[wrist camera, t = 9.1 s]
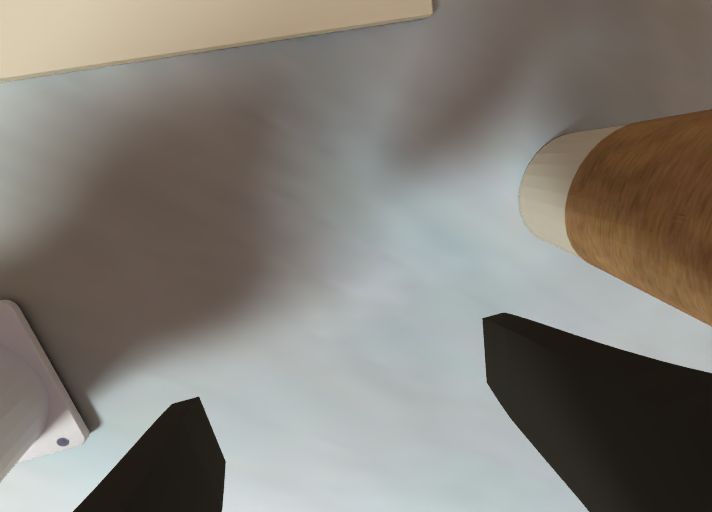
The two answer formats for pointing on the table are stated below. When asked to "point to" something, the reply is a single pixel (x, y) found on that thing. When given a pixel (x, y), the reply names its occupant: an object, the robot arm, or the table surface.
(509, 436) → the table surface
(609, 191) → the coffee cup
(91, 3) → the mat
